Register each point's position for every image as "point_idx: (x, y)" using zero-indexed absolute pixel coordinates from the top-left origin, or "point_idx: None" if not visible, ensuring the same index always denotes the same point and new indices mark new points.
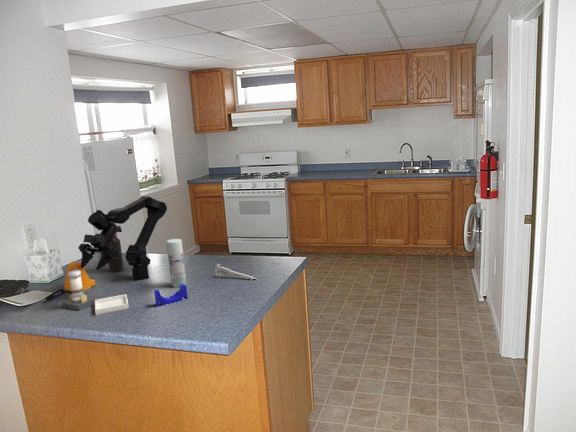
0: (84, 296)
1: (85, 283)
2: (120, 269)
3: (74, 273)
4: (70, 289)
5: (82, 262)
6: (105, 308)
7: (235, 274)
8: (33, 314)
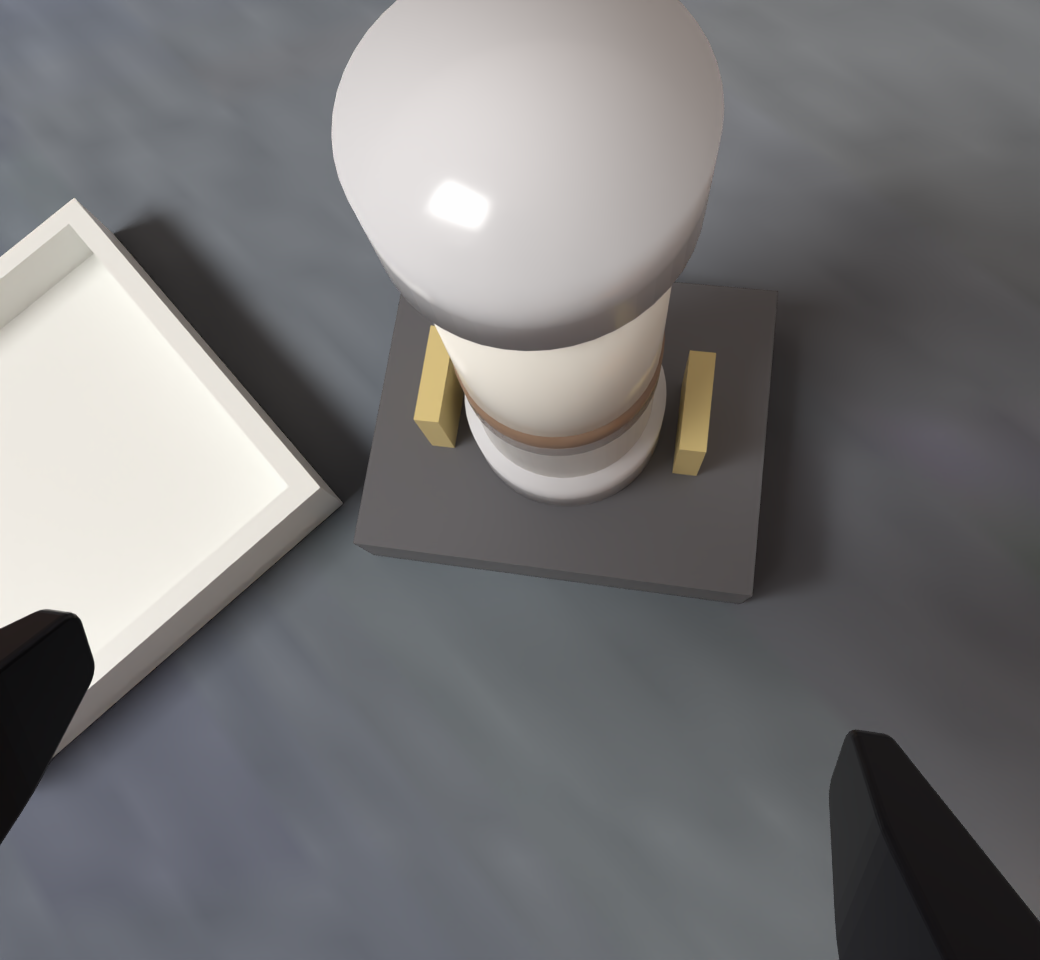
0: (423, 386)
1: None
2: None
3: (391, 9)
4: None
5: (909, 870)
6: None
7: None
8: (963, 57)
